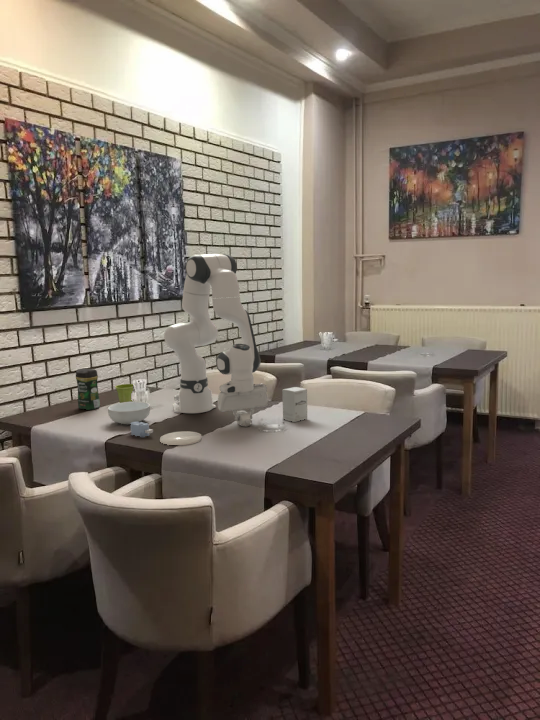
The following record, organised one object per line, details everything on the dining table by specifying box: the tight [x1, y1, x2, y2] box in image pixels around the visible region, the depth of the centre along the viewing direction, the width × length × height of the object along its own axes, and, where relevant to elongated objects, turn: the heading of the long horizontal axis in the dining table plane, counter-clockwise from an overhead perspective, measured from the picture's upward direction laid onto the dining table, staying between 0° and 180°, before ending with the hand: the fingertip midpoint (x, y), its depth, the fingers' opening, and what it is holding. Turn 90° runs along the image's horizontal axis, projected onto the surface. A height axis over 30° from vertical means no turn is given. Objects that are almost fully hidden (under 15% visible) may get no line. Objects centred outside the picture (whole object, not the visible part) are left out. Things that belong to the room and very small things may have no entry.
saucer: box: [159, 430, 202, 446], centre depth 211 cm, size 15×15×1 cm
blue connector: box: [130, 421, 154, 438], centre depth 218 cm, size 10×4×4 cm, turn 54°
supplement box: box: [281, 386, 308, 423], centre depth 234 cm, size 7×7×13 cm
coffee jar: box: [75, 367, 101, 411], centre depth 265 cm, size 10×8×19 cm
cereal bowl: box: [107, 400, 151, 425], centre depth 238 cm, size 17×17×7 cm
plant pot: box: [114, 383, 133, 403], centre depth 272 cm, size 9×9×9 cm
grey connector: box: [236, 410, 253, 427], centre depth 228 cm, size 10×4×4 cm, turn 24°
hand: (243, 419), depth 229 cm, fingers closed on grey connector, 4 cm apart
